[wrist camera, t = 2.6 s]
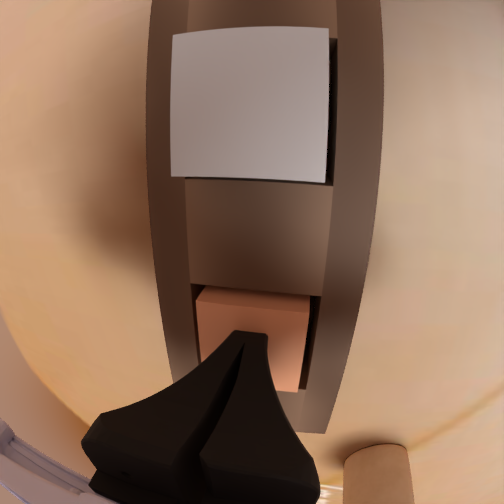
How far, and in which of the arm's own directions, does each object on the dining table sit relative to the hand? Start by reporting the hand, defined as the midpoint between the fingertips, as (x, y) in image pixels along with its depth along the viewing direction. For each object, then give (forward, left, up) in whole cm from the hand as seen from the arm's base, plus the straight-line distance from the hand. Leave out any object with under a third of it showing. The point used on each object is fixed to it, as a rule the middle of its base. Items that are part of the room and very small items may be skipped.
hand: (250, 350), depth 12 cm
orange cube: (0, 0, -3) cm, 3 cm away
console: (0, -9, -4) cm, 10 cm away
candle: (-10, +15, -4) cm, 19 cm away
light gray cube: (0, -9, -2) cm, 9 cm away
